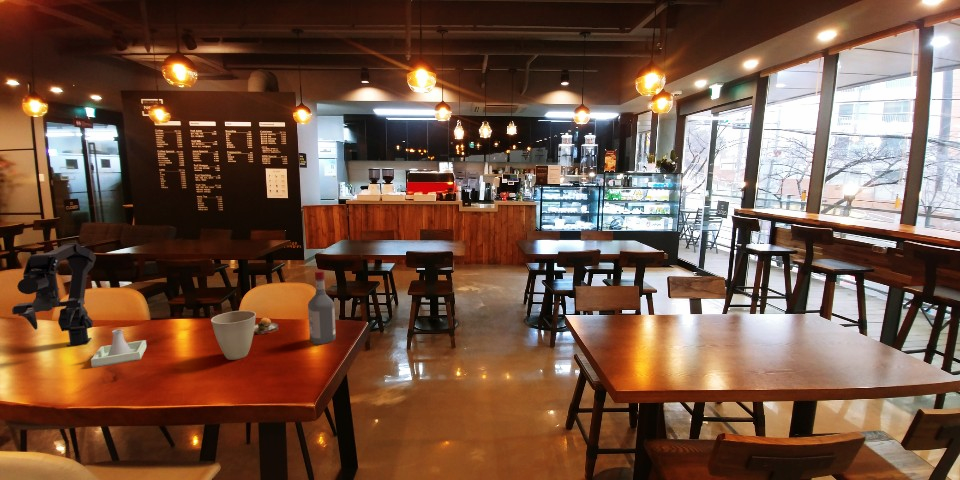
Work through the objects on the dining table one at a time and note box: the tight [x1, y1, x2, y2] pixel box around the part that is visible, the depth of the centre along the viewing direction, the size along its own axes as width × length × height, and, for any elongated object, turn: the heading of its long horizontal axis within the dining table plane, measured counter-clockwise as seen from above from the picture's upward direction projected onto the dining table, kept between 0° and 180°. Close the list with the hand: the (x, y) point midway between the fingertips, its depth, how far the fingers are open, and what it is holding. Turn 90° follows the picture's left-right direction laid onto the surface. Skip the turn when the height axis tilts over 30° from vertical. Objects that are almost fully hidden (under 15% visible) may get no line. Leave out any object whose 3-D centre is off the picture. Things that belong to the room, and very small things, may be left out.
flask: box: [108, 328, 132, 356], centre depth 165 cm, size 7×7×10 cm
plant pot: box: [210, 310, 257, 361], centre depth 166 cm, size 15×15×16 cm
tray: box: [90, 339, 147, 368], centre depth 166 cm, size 14×14×3 cm
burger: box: [253, 316, 279, 335], centre depth 195 cm, size 12×12×8 cm
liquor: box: [307, 270, 337, 346], centre depth 181 cm, size 9×9×30 cm
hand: (52, 327), depth 163 cm, fingers open, 9 cm apart
